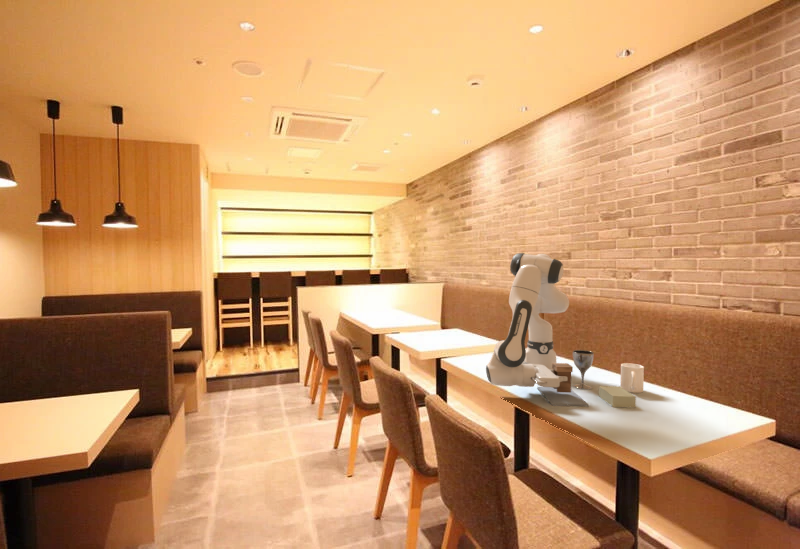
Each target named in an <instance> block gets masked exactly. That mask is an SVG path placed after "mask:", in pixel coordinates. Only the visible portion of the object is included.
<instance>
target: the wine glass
mask: <svg viewBox="0 0 800 549" xmlns="http://www.w3.org/2000/svg"><path fill="white" fill-rule="evenodd" d="M572 358H573V359H572V360H573V363H574V365H575V367H576V368H577V369H578V371H579V372H580V375H581V377H580V378H581V383H576V384H573V387H574V388H576V389H580V390H591V389H592V388H593V387H592V386H590V385H588V384H585V383H584V379H585V374H586V372H588V370H589V369H590V368H591V367H592V366H593V362H594V352H593V351H592V350H587V349H586V350H585V349H574V350H573V351H572Z"/></svg>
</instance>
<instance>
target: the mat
mask: <svg viewBox="0 0 800 549" xmlns="http://www.w3.org/2000/svg"><path fill="white" fill-rule="evenodd" d="M537 390H538V391H539V392H540V393H541V394H542V396H543V397H544V398H545V399H546V401H548V402H549V403H550V405H552V406H554V407H555V406H557V407H558V406H561V407H562V406H564V407H565V406H566V407H589V403H588V402H586V400H584V399H583V398H582V397H581V396H580V395H579V394H578V393H577V392H575V391H574V390H573V389H572V388H571V392H557V389H554V388H553V387H542V386H537Z"/></svg>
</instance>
